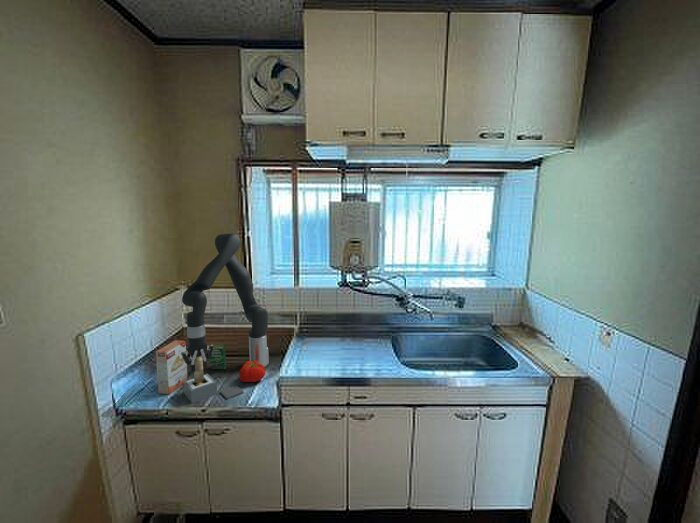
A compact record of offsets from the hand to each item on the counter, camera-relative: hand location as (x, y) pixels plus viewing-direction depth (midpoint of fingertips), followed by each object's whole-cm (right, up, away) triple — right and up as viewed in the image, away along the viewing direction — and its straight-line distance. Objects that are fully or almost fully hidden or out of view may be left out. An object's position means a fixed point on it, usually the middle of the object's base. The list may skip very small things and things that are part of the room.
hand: (198, 369), depth 152 cm
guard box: (0, -12, +2) cm, 12 cm away
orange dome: (0, -10, +1) cm, 10 cm away
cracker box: (-15, -11, +8) cm, 20 cm away
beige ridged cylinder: (0, -5, +1) cm, 5 cm away
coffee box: (-1, -8, +26) cm, 28 cm away
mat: (+14, -12, +3) cm, 19 cm away
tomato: (+21, -10, +15) cm, 27 cm away
